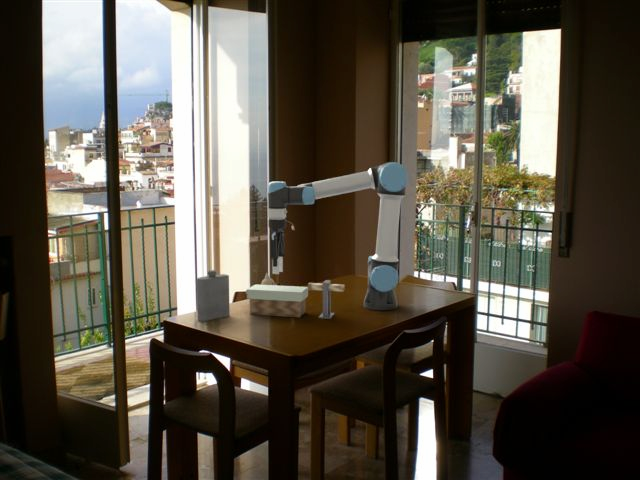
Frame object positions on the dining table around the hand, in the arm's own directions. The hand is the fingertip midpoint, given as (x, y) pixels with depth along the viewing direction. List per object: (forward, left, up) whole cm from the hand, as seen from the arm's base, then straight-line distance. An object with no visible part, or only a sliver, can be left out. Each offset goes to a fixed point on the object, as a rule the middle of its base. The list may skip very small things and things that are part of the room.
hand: (277, 272), depth 293 cm
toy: (+12, -14, -18) cm, 26 cm away
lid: (0, 0, -11) cm, 11 cm away
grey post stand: (-22, 0, -18) cm, 28 cm away
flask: (+24, +14, -18) cm, 33 cm away
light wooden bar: (-21, 0, -7) cm, 22 cm away
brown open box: (0, 0, -18) cm, 18 cm away
